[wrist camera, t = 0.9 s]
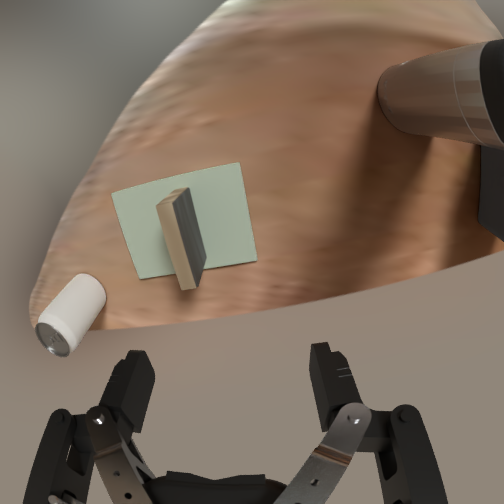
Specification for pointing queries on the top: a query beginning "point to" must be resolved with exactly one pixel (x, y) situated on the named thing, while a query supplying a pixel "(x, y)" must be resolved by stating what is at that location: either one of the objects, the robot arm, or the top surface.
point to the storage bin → (492, 191)
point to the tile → (182, 236)
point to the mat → (207, 212)
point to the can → (70, 315)
